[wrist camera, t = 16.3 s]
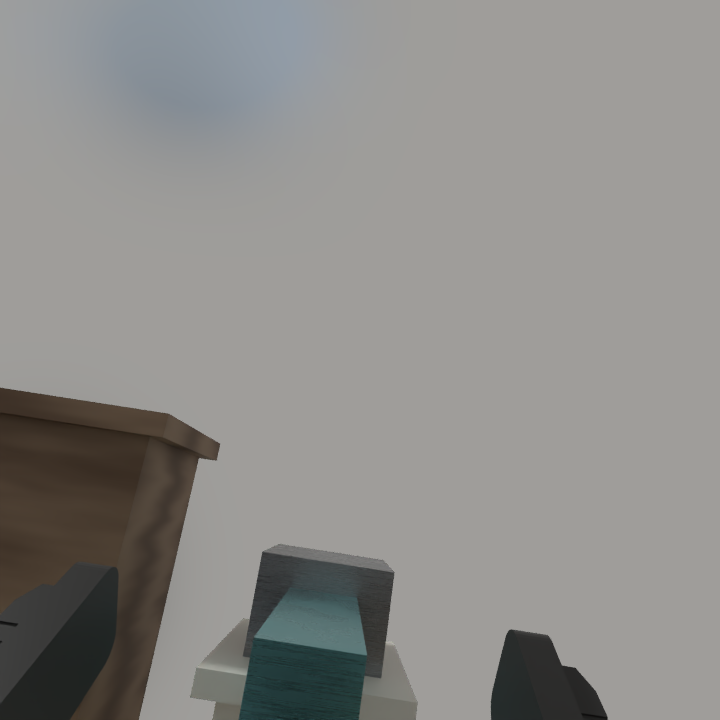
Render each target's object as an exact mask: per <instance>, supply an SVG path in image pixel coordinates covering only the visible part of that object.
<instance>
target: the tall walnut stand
mask: <svg viewBox="0 0 720 720" xmlns="http://www.w3.org/2000/svg"><path fill="white" fill-rule="evenodd" d="M219 447H220V444H219V443H218V442H216V441H214V440H213V439H211V438H209V437H207V436H206V435H204V434H202V433H201V432H199V431H197V430H195V429H194V428H192V427H190V426H189V425H187V424H185V423H184V422H182V421H180V420H178V419H177V418H175V417H173V416H172V415H170V414H166V413H160V412H154V411H147V410H140V409H134V408H128V407H121V406H115V405H108V404H101V403H95V402H88V401H82V400H76V399H69V398H63V397H56V396H50V395H43V394H37V393H30V392H24V391H17V390H11V389H4V388H0V614H1V613H2V612H3V611H4V610H5V609H6V608H7V607H8V606H9V605H10V604H11V603H12V602H13V601H14V600H15V599H17V598H19V597H20V596H22V595H24V594H26V593H27V592H29V591H31V590H33V589H34V588H36V587H38V586H40V585H41V584H48V585H55V584H56V583H57V582H58V581H59V580H60V579H61V578H62V576H63V575H64V574H65V573H66V572H67V571H68V570H69V569H70V568H71V567H72V566H73V565H74V564H75V563H77V562H87V563H93V564H99V565H106V566H112V567H116V568H117V569H118V574H119V580H118V603H117V626H116V636H115V640H114V644H113V647H112V650H111V653H110V656H109V658H108V660H107V662H106V664H105V666H104V667H103V669H102V670H101V672H100V674H99V675H98V677H97V678H96V680H95V681H94V683H93V684H92V686H91V688H90V689H89V691H88V692H87V694H86V695H85V697H84V699H83V700H82V702H81V703H80V705H79V706H78V708H77V709H76V711H75V713H74V714H73V716H72V717H71V719H70V720H139V716H140V711H141V707H142V703H143V698H144V694H145V690H146V685H147V681H148V676H149V672H150V668H151V664H152V659H153V655H154V650H155V646H156V641H157V637H158V633H159V628H160V624H161V620H162V616H163V611H164V607H165V603H166V598H167V594H168V590H169V585H170V581H171V577H172V572H173V568H174V563H175V559H176V555H177V551H178V546H179V542H180V538H181V533H182V528H183V524H184V520H185V516H186V511H187V507H188V502H189V498H190V494H191V490H192V485H193V480H194V477H195V472H196V468H197V464H198V459H199V458H203V459H210V460H217V456H218V451H219Z"/></svg>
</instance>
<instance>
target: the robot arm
mask: <svg viewBox="0 0 720 720" xmlns="http://www.w3.org/2000/svg"><path fill="white" fill-rule="evenodd" d="M118 580H119V574H118V569H117V568H116V567H112V566H106V565H99V564H93V563H87V562H77V563H75V564H74V565H73V566H72V567H71V568H70V569H69V570H68V571H67V572H66V573H65V574H64V575H63V576H62V578H61V579H60V580H59V581H58V582H57V583H56V584H55V585H48V584H41V585H40V586H38V587H36V588H34V589H33V590H31V591H29V592H27V593H26V594H24V595H22V596H20V597H19V598H17V599H15V600H14V601H13V602H12V603H11V604H10V605H9V606H8V607H7V608H6V609H5V610H4V611H3V612H2V613H1V614H0V720H70V719H71V717H72V716H73V714H74V713H75V711H76V709H77V708H78V706H79V705H80V703H81V702H82V700H83V699H84V697H85V695H86V694H87V692H88V691H89V689H90V688H91V686H92V684H93V683H94V681H95V680H96V678H97V677H98V675H99V674H100V672H101V670H102V669H103V667H104V666H105V664H106V662H107V660H108V658H109V656H110V653H111V650H112V647H113V644H114V640H115V636H116V626H117V603H118ZM491 720H607V715H606V713H605V710H604V708H603V706H602V704H601V702H600V699H599V697H598V695H597V693H596V691H595V690H594V689H593V688H592V687H591V685H590V684H589V683H588V682H587V681H586V680H585V679H584V677H583V676H582V675H581V674H580V673H579V672H578V671H577V669H576V668H573V667H567V666H562V665H561V663H560V660H559V658H558V655H557V653H556V650H555V648H554V646H553V643H552V641H551V639H550V638H549V636H548V635H543V634H537V633H530V632H524V631H518V630H509V631H508V633H507V635H506V638H505V642H504V646H503V650H502V654H501V658H500V662H499V666H498V671H497V674H496V679H495V683H494V687H493V691H492V699H491Z"/></svg>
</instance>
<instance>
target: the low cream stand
mask: <svg viewBox="0 0 720 720" xmlns="http://www.w3.org/2000/svg"><path fill="white" fill-rule="evenodd" d="M249 621H250V620H249V619H243V620H242V621H241V622H240V623H239V624H238V625H237V626H236V627H235V628H234V629H233V630H232V631H231V632H230V633H229V634H228V635H227V636H226V637H225V638H224V639H223V640H222V641H221V642H220V643H219V645H218V646H217V647H216V648H215V649H214V650H213V651H212V652H211V653H210V654H209V655H208V656H207V657H206V658H205V659H204V660H203V661H202V662H201V663H200V664H199V665H198V666H197V668H196V672H195V677H194V682H193V687H192V691H191V696H190V697H191V698H196V699H203V700H209V701H215V702H216V704H215V710H214V714H213V719H212V720H239V714H240V709H241V704H242V698H243V693H244V687H245V682H246V677H247V671H248V666H249V660H250V658H249V657H243V652H244V647H245V642H246V636H247V631H248V626H249ZM416 712H417V700H416V698H415V695H414V693H413V690H412V688H411V685H410V683H409V680H408V678H407V675H406V673H405V670H404V668H403V665H402V663H401V660H400V658H399V655H398V653H397V650H396V648H395V645H394V643H393V642H388V641H386V644H385V652H384V660H383V668H382V676H381V678H375V677H369V676H364V683H363V691H362V698H361V706H360V713H359V720H416Z"/></svg>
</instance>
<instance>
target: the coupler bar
mask: <svg viewBox="0 0 720 720" xmlns="http://www.w3.org/2000/svg"><path fill="white" fill-rule="evenodd" d="M393 579H394V571H393V570H391V568H390V567H389V566H388V565H387V564H386V563H385V562H384V561H383V560H378V559H371V558H365V557H359V556H352V555H346V554H340V553H334V552H327V551H320V550H315V549H308V548H301V547H295V546H289V545H283V544H278V545H276V546H274V547H272V548H270V549H267V550H265V551H263V552H262V557H261V562H260V568H259V573H258V578H257V584H256V589H255V594H254V599H253V605H252V610H251V616H250V621H249V626H248V631H247V636H246V642H245V647H244V652H243V657H249V658H250V660H249V666H248V671H247V677H246V682H245V687H244V693H243V698H242V704H241V709H240V714H239V720H359V713H360V706H361V698H362V691H363V683H364V676H369V677H375V678H381V676H382V668H383V660H384V652H385V644H386V635H387V628H388V620H389V612H390V602H391V595H392V587H393Z"/></svg>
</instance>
